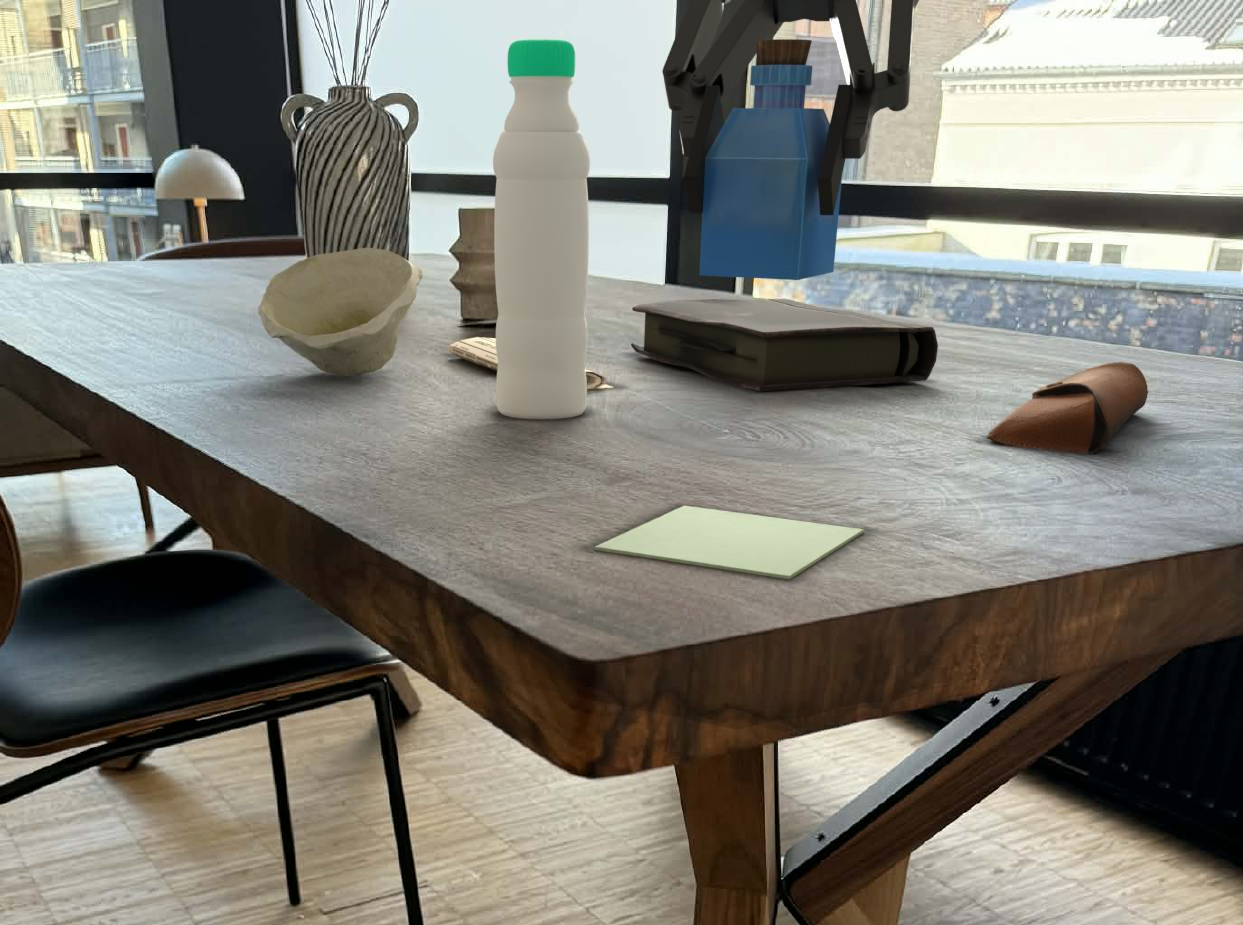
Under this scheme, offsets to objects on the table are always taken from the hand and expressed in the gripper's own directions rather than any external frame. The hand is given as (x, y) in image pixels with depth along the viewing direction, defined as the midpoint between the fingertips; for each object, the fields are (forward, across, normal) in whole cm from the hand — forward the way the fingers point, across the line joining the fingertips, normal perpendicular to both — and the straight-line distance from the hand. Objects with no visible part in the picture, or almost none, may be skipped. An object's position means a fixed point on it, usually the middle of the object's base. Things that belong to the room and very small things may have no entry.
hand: (758, 196), depth 82 cm
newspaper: (-17, +28, -40) cm, 52 cm away
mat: (+21, -2, -2) cm, 21 cm away
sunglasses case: (-7, -19, -31) cm, 37 cm away
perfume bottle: (+1, 0, -6) cm, 6 cm away
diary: (-24, +8, -48) cm, 54 cm away
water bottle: (-3, +20, -26) cm, 33 cm away
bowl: (-13, +44, -36) cm, 58 cm away
